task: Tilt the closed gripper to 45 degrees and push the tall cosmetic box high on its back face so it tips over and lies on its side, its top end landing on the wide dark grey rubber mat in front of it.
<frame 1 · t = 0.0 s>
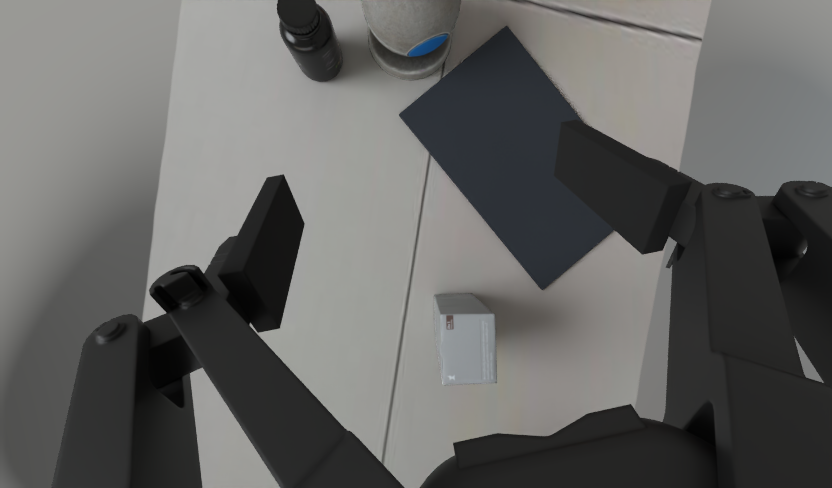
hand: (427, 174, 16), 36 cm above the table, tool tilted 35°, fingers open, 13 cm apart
webcam: (410, 40, 51), on the table
cosmetic box: (451, 316, 52), on the table
supplement bottle: (322, 62, 51), on the table
mat: (523, 160, 52), on the table
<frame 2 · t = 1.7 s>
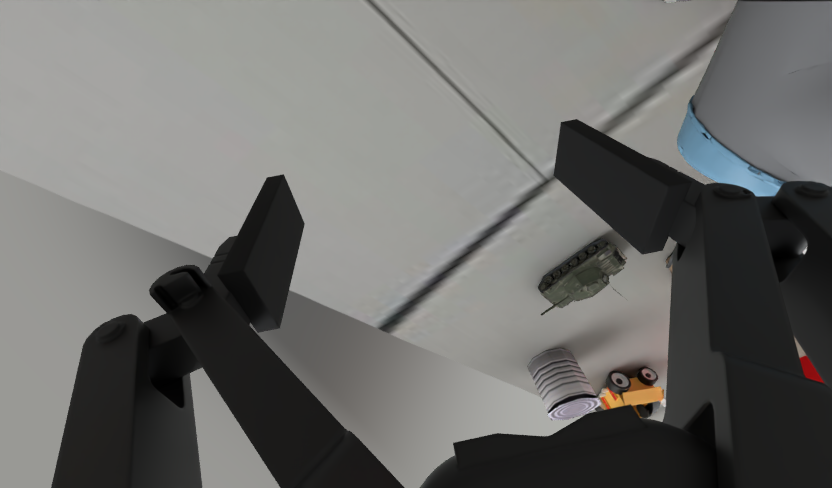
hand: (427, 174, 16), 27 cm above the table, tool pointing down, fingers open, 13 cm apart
can: (549, 361, 79), on the table
toy tank: (570, 271, 61), on the table
orange toy truck: (617, 382, 91), on the table
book: (781, 291, 74), on the table
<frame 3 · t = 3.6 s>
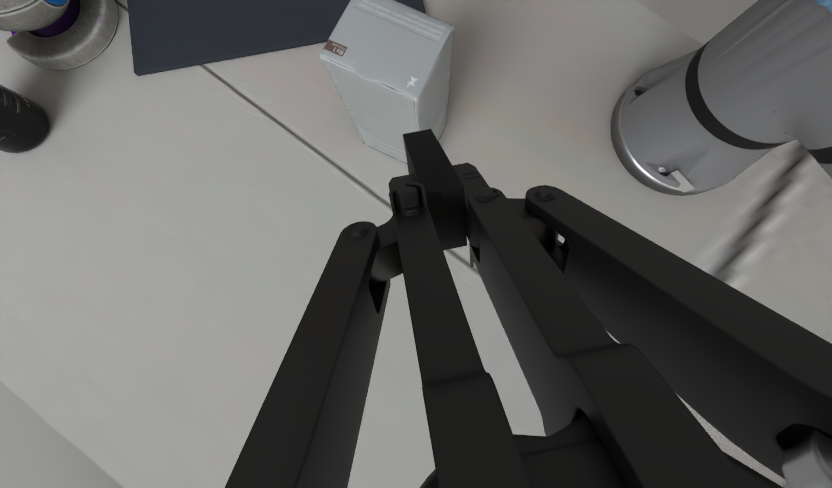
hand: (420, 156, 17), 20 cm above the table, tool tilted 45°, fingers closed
webcam: (69, 23, 41), on the table
cosmetic box: (401, 137, 39), on the table
supplement bottle: (25, 128, 39), on the table
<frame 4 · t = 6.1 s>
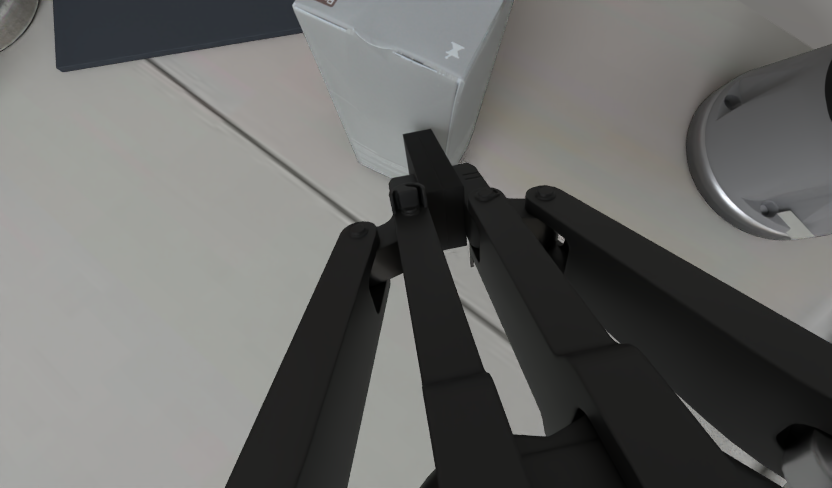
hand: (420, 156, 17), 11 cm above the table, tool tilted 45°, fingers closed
cosmetic box: (409, 157, 29), on the table
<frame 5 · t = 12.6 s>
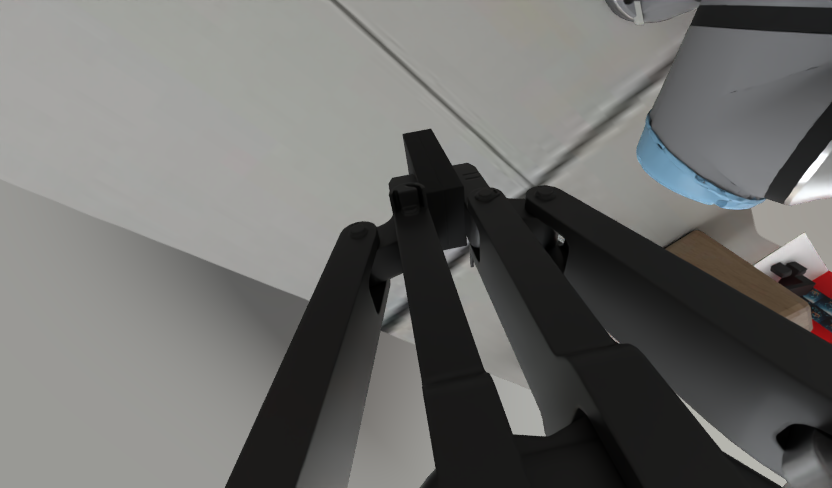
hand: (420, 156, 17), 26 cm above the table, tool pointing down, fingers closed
wooden block: (676, 254, 66), on the table
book: (763, 285, 77), on the table
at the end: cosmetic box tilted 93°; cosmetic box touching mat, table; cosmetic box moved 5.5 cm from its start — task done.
